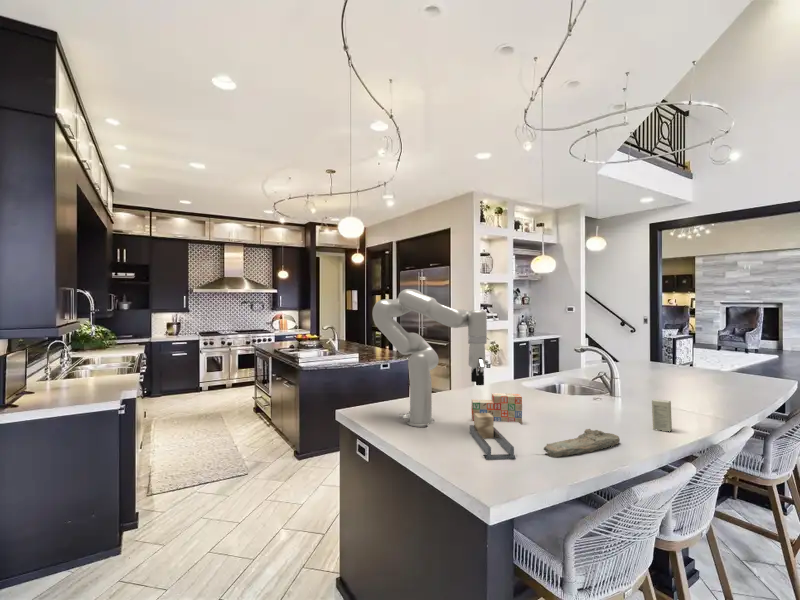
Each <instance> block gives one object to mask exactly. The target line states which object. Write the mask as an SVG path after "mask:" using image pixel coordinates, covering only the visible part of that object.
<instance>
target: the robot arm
mask: <svg viewBox="0 0 800 600" xmlns="http://www.w3.org/2000/svg"><path fill="white" fill-rule="evenodd" d="M412 311H413V312H415V313H418V314H421V315H423V316H425V317H427V318H428V319H431V320H432V321H434V322H437V323H439V324H441V325H443V326H446V327H449V328H453V329H458V328H459V329H460V328H466V327H467V339H468V340H467V341H468V342H467V343H468V344H469V347H468V366H469V367H470V368H471V375H470V377H471V379H470V380H471V382H472V383H475V385H476V386H484V385H485V369H486V345H487V343H488V340H487V339H488V336H487V335H488V334H487V333H488V332H487V331H488V330H487V327H488V325H487V323H488V320H487V319H488V318H487V317H488V316H487V312H486V311H485V310H484V309H483V310H481V309H479V310H478V309H473V310H467V309H455V308H452V307H448V306H446V305H443V304H441V303H439V302H438V301H437V299H436V298H434V297H432V296H428V295H426V294H424V293H422V292H421V291H419V290H418V289H413V288H412V289H411V288H406V289H403V290H401V291H400V292H399V294H398V296H397V297H396V298H395V299H394V298H392V299H389V298H386V299H381V300H378V301H377V302H375V304H374V306H373V307H372V320H373V323H374V325H375V326H376V328H377V329H378V330H379V331H380V332H381V334H383V335H384V336H385V337H386V339H387V340H388V341H389V342H390V343H391V344H392V346H393V347H394V348H395V350H397V352H398V353H400V354H401V355H409V358H408V362H407V365H408V366H407V368H408V372H409V373H408V374H409V411H408V412H407V413H399V419H402V420H406V424H407V425H409V426H410V427H411V426H412V427H417V428H418V427H419V428H427V427H429V426H428V425H433V424H434V423H436V420H435V419H434V418H433V417H432V416H433V415H432V414H433V413H432V411H433V410H432V409H433V408H432V405H433V404H432V403H433V400H432V399H433V398H432V397H433V395H432V393H433V392H432V388H433V387H432V377H431V371H432V370H434V369H435V368H436V367H437V366H438V365H439V361H440V359H439V356H438V355H439V354H437V352H436V351H435V349H434V348H433V347H432V346H431V345H430V344H429V343H428V342H427V341H426V340H425V339H424V337H422V336H421V335H420V334H419V333H416V332H408V331H407V330H405V329H404V328H403V327H402V325H401V324H400V323H399V322H398V321H396V320H395V319H394V318H399V317H401V316H403V315H406V314H407V313H410V312H412ZM410 354H411V355H410Z"/></svg>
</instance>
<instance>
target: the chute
mask: <svg viewBox="0 0 800 600" xmlns="http://www.w3.org/2000/svg"><path fill="white" fill-rule="evenodd" d="M469 434H470V435H471V437H472V438H473V439H474V440H475V442H476V443H477V445H478V446H479V447H480V449H482V451H483V452H484V454H482V456H483V458H485V460H486V461H487V460H488V461H489V460H492V461H493V460H494V461H495V460H516V455H515V447H514V446H513V444H511V442H510V441H509V440H508V439H507V438H506V437H505V436H503V434H502V433H501V432H500V431H499V430H498V429H497V428H496V427H495V426H494V438H493V439H495V441H496V442H497V443H498V444H499V445H500V447H502V449H504V451H506V453H505V454H504V453H503V454H499V453H497V454H492V447H491V445H490V444H489V443H488V442H487V440H486V439H485V438H483V437H482V436H481V435H480V433H479V432H478V431H477V430H476V429H475V427H474V424H471V425H469Z"/></svg>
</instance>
